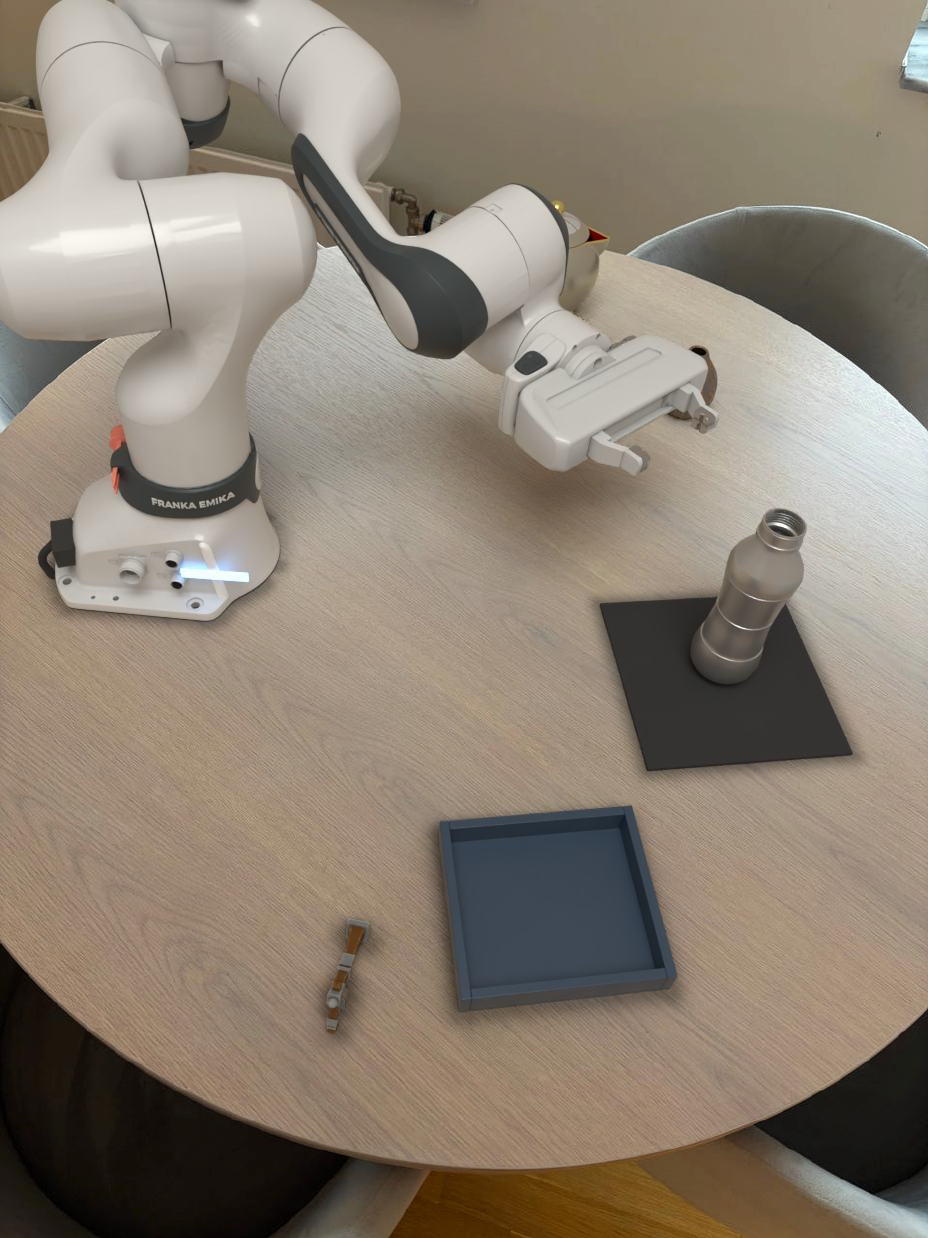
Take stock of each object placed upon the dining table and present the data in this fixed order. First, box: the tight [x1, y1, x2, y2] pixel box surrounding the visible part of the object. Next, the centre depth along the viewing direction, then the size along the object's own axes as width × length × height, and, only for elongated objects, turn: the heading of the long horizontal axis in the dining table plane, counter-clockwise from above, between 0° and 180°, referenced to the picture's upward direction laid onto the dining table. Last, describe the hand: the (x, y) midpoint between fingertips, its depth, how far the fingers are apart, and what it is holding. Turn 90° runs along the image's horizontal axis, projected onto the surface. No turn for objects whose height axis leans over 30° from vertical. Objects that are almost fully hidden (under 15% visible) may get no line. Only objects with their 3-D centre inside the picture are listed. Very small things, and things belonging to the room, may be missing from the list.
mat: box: [599, 596, 854, 772], centre depth 94 cm, size 20×20×1 cm
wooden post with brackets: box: [325, 917, 371, 1034], centre depth 71 cm, size 2×8×4 cm, turn 169°
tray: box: [437, 805, 678, 1013], centre depth 76 cm, size 17×15×3 cm
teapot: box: [551, 199, 611, 314], centre depth 127 cm, size 18×14×16 cm
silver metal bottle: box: [690, 507, 808, 684], centre depth 87 cm, size 6×7×20 cm
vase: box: [668, 344, 718, 420], centre depth 118 cm, size 7×7×9 cm
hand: (678, 445), depth 83 cm, fingers open, 8 cm apart
